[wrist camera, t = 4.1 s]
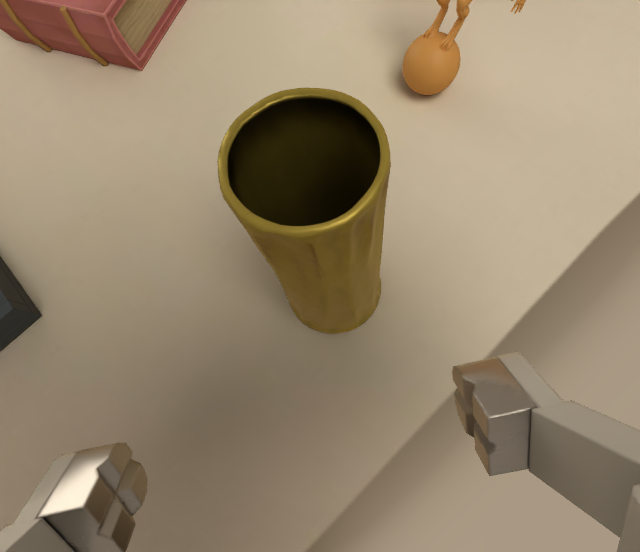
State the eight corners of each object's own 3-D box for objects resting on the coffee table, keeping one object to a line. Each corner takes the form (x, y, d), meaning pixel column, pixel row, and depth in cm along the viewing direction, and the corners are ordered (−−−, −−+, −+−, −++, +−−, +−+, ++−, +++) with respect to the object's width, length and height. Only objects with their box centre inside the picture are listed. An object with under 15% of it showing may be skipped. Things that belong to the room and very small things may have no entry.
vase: (285, 251, 26) (201, 90, 12) (373, 239, 25) (388, 59, 12) (291, 339, 24) (201, 264, 10) (387, 327, 23) (425, 234, 10)
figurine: (369, 73, 30) (376, -128, 18) (422, 29, 30) (459, -188, 19) (449, 132, 27) (514, -57, 16) (504, 83, 28) (603, -130, 17)
